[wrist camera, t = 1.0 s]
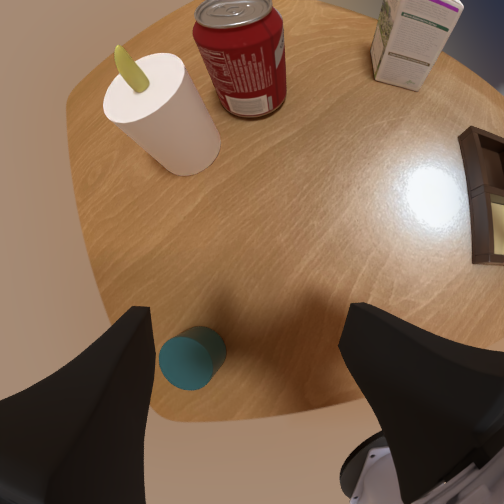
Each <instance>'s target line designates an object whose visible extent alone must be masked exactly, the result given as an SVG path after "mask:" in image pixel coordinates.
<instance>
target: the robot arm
mask: <svg viewBox="0 0 504 504" xmlns="http://www.w3.org/2000/svg"><path fill="white" fill-rule="evenodd" d="M338 347H339V349H340V352H341V354H342V357H343V359H344V362H345V364H346V366H347V368H348V370H349V371H350V373H351V375H352V376H353V378H354V380H355V381H356V383H357V385H358V386H359V388H360V389H361V391H362V393H363V394H364V396H365V398H366V399H367V401H368V402H369V404H370V406H371V407H372V409H373V411H374V413H375V415H376V417H377V419H378V421H379V424H380V426H381V428H382V431H383V433H384V436H385V438H386V441H387V444H388V446H384V447H376V448H372V449H370V450H369V452H368V455H367V458H366V461H365V463H364V466H363V469H362V472H361V474H360V477H359V479H358V482H357V485H356V487H355V489H354V492H353V494H352V497H351V499H350V501H349V502H350V504H504V352H500V351H492V350H486V349H481V348H476V347H472V346H468V345H464V344H461V343H457V342H454V341H451V340H448V339H446V338H443V337H440V336H438V335H435V334H433V333H430V332H428V331H426V330H424V329H421V328H419V327H417V326H415V325H413V324H411V323H408V322H406V321H404V320H402V319H400V318H398V317H396V316H394V315H392V314H390V313H388V312H386V311H384V310H382V309H379V308H377V307H375V306H373V305H370V304H367V303H364V302H361V303H351V304H350V308H349V311H348V315H347V318H346V322H345V325H344V328H343V332H342V335H341V338H340V341H339V344H338ZM155 358H156V352H155V345H154V338H153V330H152V322H151V313H150V307H142V306H132V307H131V308H130V309H129V310H128V311H126V312H125V313H124V314H123V315H122V316H121V317H120V318H119V319H118V320H117V321H116V322H115V323H114V324H113V325H112V326H111V327H110V328H109V329H108V330H107V331H106V332H105V333H104V334H103V335H102V336H100V338H98V339H97V340H96V341H95V342H94V343H92V344H91V345H90V346H89V347H88V348H87V349H85V350H84V351H83V352H82V353H81V354H80V355H78V356H77V357H76V358H74V359H73V360H72V361H70V362H69V363H68V364H66V365H65V366H63V367H62V368H61V369H59V370H58V371H56V372H55V373H53V374H52V375H50V376H48V377H46V378H45V379H43V380H41V381H39V382H38V383H36V384H34V385H32V386H31V387H29V388H27V389H25V390H23V391H21V392H19V393H17V394H15V395H12V396H10V397H8V398H5V399H3V400H1V401H0V504H146V501H145V487H144V436H145V428H146V422H147V416H148V410H149V404H150V398H151V393H152V387H153V382H154V373H155ZM371 455H373V456H371ZM444 482H446V483H445V484H444Z"/></svg>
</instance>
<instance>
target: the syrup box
mask: <svg viewBox="0 0 504 504" xmlns="http://www.w3.org/2000/svg"><path fill="white" fill-rule="evenodd" d="M463 8H464V6H463V4H462V3H461V2H460V0H383V3H382V8H381V12H380V15H379V19H378V23H377V27H376V31H375V34H374V38H373V42H372V46H371V49H370V53H371V58H372V64H373V71H374V78H375V80H377V81H380V82H384V83H387V84H391V85H395V86H399V87H403V88H406V89H410V90H413V91H417V92H418V91H419V89H420V87H421V86H422V84H423V82H424V81H425V79H426V77H427V76H428V74H429V72H430V70H431V69H432V67H433V65H434V64H435V62H436V60H437V58H438V56H439V54H440V53H441V51H442V48H443V47H444V45H445V43H446V42H447V40H448V38H449V36H450V34H451V32H452V30H453V28H454V26H455V24H456V22H457V20H458V19H459V17H460V14H461V12H462V10H463Z"/></svg>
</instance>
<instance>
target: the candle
mask: <svg viewBox="0 0 504 504" xmlns="http://www.w3.org/2000/svg"><path fill="white" fill-rule="evenodd" d="M114 58H115V63H116V66H117V69H118V71H119V74H118V76H117V77H116V78H115V79H114V80H113V82H112V83H111V85H110V86H109V88H108V90H107V92H106V95H105V97H104V103H103V108H104V113H105V114H106V116H107V117H108V119H109V120H111V121H112V122H113V123H114V124H115V125H116V126H118V127H119V128H120V129H121V130H122V131H123V132H124V133H126V134H127V135H128V136H129V137H130V138H131V139H133V140H134V141H135V142H136V143H137V144H138V145H139V146H141V147H142V148H143V149H144V150H145V151H146V152H148V153H149V154H150V155H151V156H152V157H153V158H154V159H156V160H157V161H158V162H159V163H160V164H161V165H162V166H164V167H165V168H166V169H167V170H168V171H170V172H171V173H173V174H176V175H179V176H190V175H194V174H197V173H199V172H201V171H203V170H205V169H206V168H207V167H208V166H209V165H211V164H212V162H213V161H214V160H215V159H216V157H217V155H218V153H219V150H220V145H221V139H220V134H219V132H218V130H217V128H216V126H215V124H214V122H213V120H212V118H211V116H210V114H209V112H208V111H207V109H206V107H205V105H204V103H203V101H202V99H201V97H200V95H199V93H198V91H197V89H196V87H195V85H194V83H193V81H192V79H191V78H190V76H189V74H188V72H187V70H186V68H185V66H184V64H183V62H182V60H181V59H180V58H178V57H177V56H176V55H173V54H169V53H157V54H152V55H148V56H146V57H143V58H141V59H139V60H137V61H135V62H134V60H133V59H132V58H131V56H130V55H129V54H128V53H127V51H126V50H125V49H124V48H123V47H122V46H120V45H117V46H116V48H115V51H114Z"/></svg>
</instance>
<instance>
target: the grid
mask: <svg viewBox="0 0 504 504" xmlns="http://www.w3.org/2000/svg"><path fill="white" fill-rule="evenodd" d="M458 138H459V142H460V147H461V151H462V156H463V161H464V167H465V173H466V179H467V186H468V193H469V202H470V212H471V225H472V251H473V264H486V265H504V138H502V137H500V136H497V135H495V134H492V133H490V132H487V131H485V130H482V129H479V128H477V127H474V126H470V127H469V128H467V129H466V130H465V131H464V132H463V133H462V134H461V135H460V136H459V137H458Z"/></svg>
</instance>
